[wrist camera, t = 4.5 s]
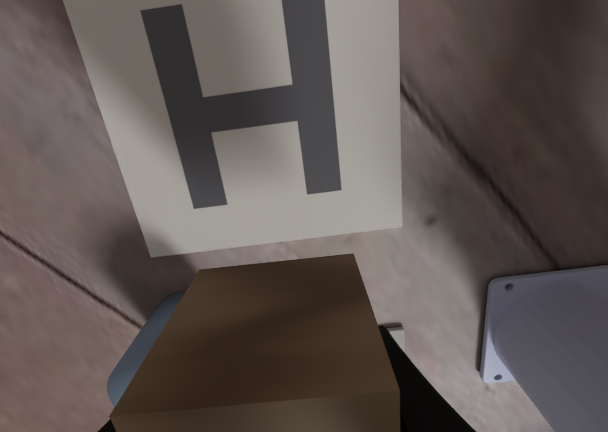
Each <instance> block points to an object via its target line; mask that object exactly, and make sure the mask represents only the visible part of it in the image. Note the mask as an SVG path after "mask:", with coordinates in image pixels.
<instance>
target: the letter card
mask: <svg viewBox="0 0 608 432" xmlns="http://www.w3.org/2000/svg"><path fill="white" fill-rule="evenodd" d="M63 3H64V6H65V9H66V12H67V15H68V17H69V20H70V23H71V26H72V29H73V32H74V35H75V38H76V41H77V44H78V47H79V50H80V52H81V55H82V58H83V61H84V64H85V67H86V70H87V73H88V76H89V79H90V82H91V85H92V87H93V90H94V93H95V96H96V99H97V102H98V105H99V108H100V111H101V114H102V117H103V120H104V122H105V125H106V128H107V131H108V134H109V137H110V140H111V143H112V146H113V149H114V152H115V155H116V157H117V160H118V163H119V166H120V169H121V172H122V175H123V178H124V181H125V184H126V187H127V189H128V192H129V195H130V198H131V201H132V204H133V207H134V210H135V213H136V216H137V219H138V222H139V224H140V227H141V230H142V233H143V236H144V239H145V242H146V245H147V248H148V251H149V254H150V257H151V258H153V257H161V256H169V255H177V254H185V253H193V252H202V251H210V250H218V249H226V248H234V247H243V246H251V245H259V244H267V243H275V242H283V241H292V240H300V239H308V238H316V237H324V236H332V235H341V234H349V233H357V232H365V231H373V230H381V229H390V228H398V227H402V178H401V122H400V65H399V9H398V0H63Z"/></svg>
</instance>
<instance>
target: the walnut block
mask: <svg viewBox="0 0 608 432" xmlns="http://www.w3.org/2000/svg"><path fill="white" fill-rule="evenodd" d="M109 417H110V419H111V421H112V423H113V425H114V428H115V430H116V432H400V389H399V386H398V384H397V381H396V378H395V375H394V372H393V369H392V366H391V363H390V360H389V357H388V354H387V351H386V348H385V345H384V342H383V339H382V336H381V333H380V330H379V327H378V325H377V322H376V319H375V316H374V313H373V310H372V307H371V304H370V301H369V298H368V295H367V292H366V289H365V286H364V283H363V280H362V277H361V274H360V271H359V268H358V265H357V263H356V260H355V257H354V254H345V255H335V256H325V257H316V258H306V259H297V260H287V261H278V262H268V263H258V264H249V265H239V266H230V267H220V268H211V269H201V270H199V271H198V272H197V274H196V276H195V277H194V279H193V281H192V282H191V284H190V286H189V287H188V289H187V290H186V292H185V294H184V295H183V297H182V299H181V300H180V302H179V303H178V305H177V307H176V308H175V310H174V312H173V313H172V315H171V317H170V318H169V320H168V321H167V323H166V325H165V326H164V328H163V330H162V331H161V333H160V334H159V336H158V338H157V339H156V341H155V343H154V344H153V346H152V348H151V349H150V351H149V352H148V354H147V356H146V357H145V359H144V361H143V362H142V364H141V365H140V367H139V369H138V370H137V372H136V374H135V375H134V377H133V379H132V380H131V382H130V383H129V385H128V387H127V388H126V390H125V392H124V393H123V395H122V396H121V398H120V400H119V401H118V403H117V405H116V406H115V408H114V410H113V411H112V413H111V414H110V416H109Z"/></svg>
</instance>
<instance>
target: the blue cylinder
mask: <svg viewBox="0 0 608 432" xmlns="http://www.w3.org/2000/svg"><path fill="white" fill-rule="evenodd" d="M185 292H186V291H181V292H177V293H173V294H171V295H169V296H167V297H166V298H164V299H163V300H162V301H161V302H160V303H159V304H158V306H157V307H156V309H155V310H154V312H153V313H152V315H151V316H150V318H149V319H148V320H147V322H146V323H145V325H144V326H143V328H142V329H141V331H140V332H139V334H138V335H137V336H136V338H135V339H134V341H133V342H132V344H131V345H130V347H129V348H128V350H127V351H126V352H125V354H124V355H123V357H122V358H121V360H120V361H119V363H118V364H117V366H116V367H115V369H114V370H113V371H112V373H111V375H110V377H109V379H108V384H107V391H108V395H109V398H110V400H111V402H112V404H113V405H114V407H115V406H116V405H117V403H118V401H119V400H120V398H121V396H122V395H123V393H124V392H125V390H126V388H127V387H128V385H129V383H130V382H131V380H132V379H133V377H134V375H135V374H136V372H137V370H138V369H139V367H140V365H141V364H142V362H143V361H144V359H145V357H146V356H147V354H148V352H149V351H150V349H151V348H152V346H153V344H154V343H155V341H156V339H157V338H158V336H159V334H160V333H161V331H162V330H163V328H164V326H165V325H166V323H167V321H168V320H169V318H170V317H171V315H172V313H173V312H174V310H175V308H176V307H177V305H178V303H179V302H180V300H181V299H182V297H183V295H184V294H185Z"/></svg>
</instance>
